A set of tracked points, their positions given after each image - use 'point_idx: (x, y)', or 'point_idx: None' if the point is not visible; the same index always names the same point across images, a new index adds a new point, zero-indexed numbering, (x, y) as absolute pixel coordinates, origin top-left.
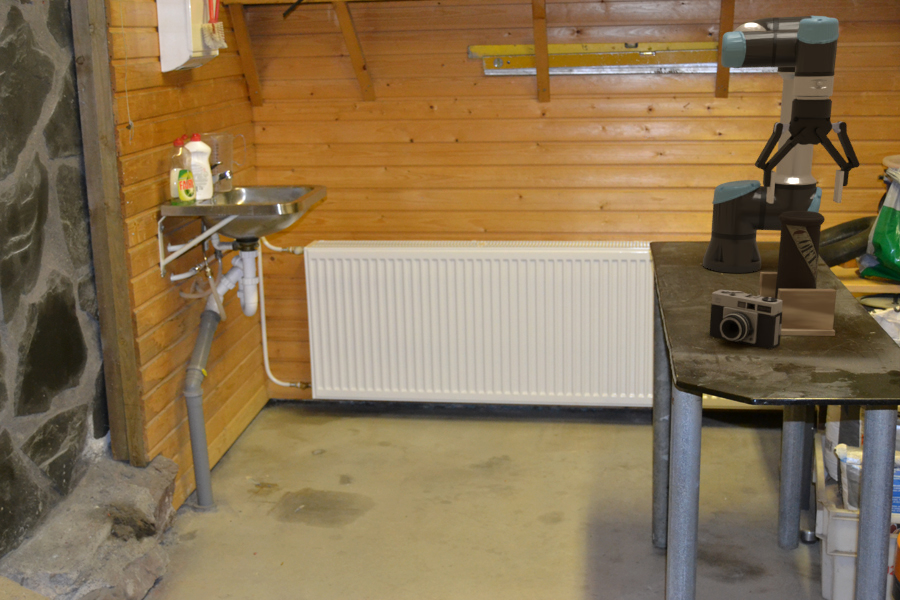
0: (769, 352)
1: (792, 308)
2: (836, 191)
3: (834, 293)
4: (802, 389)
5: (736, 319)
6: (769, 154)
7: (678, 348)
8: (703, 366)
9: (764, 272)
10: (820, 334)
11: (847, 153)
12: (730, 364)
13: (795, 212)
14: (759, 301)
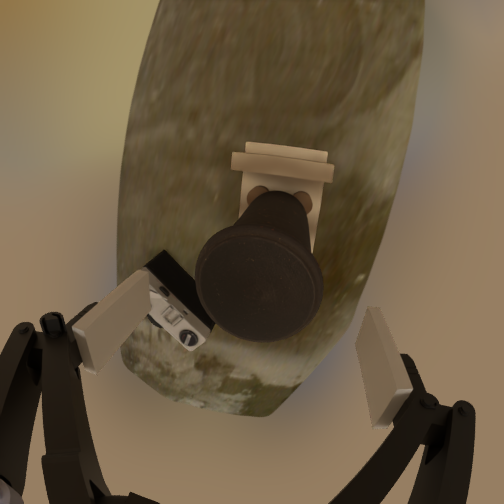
0: None
1: None
2: (366, 352)
3: None
4: (205, 399)
5: (157, 326)
6: (33, 408)
7: None
8: (138, 345)
9: (238, 157)
10: None
11: (419, 483)
12: (160, 347)
13: (233, 295)
14: (175, 338)
